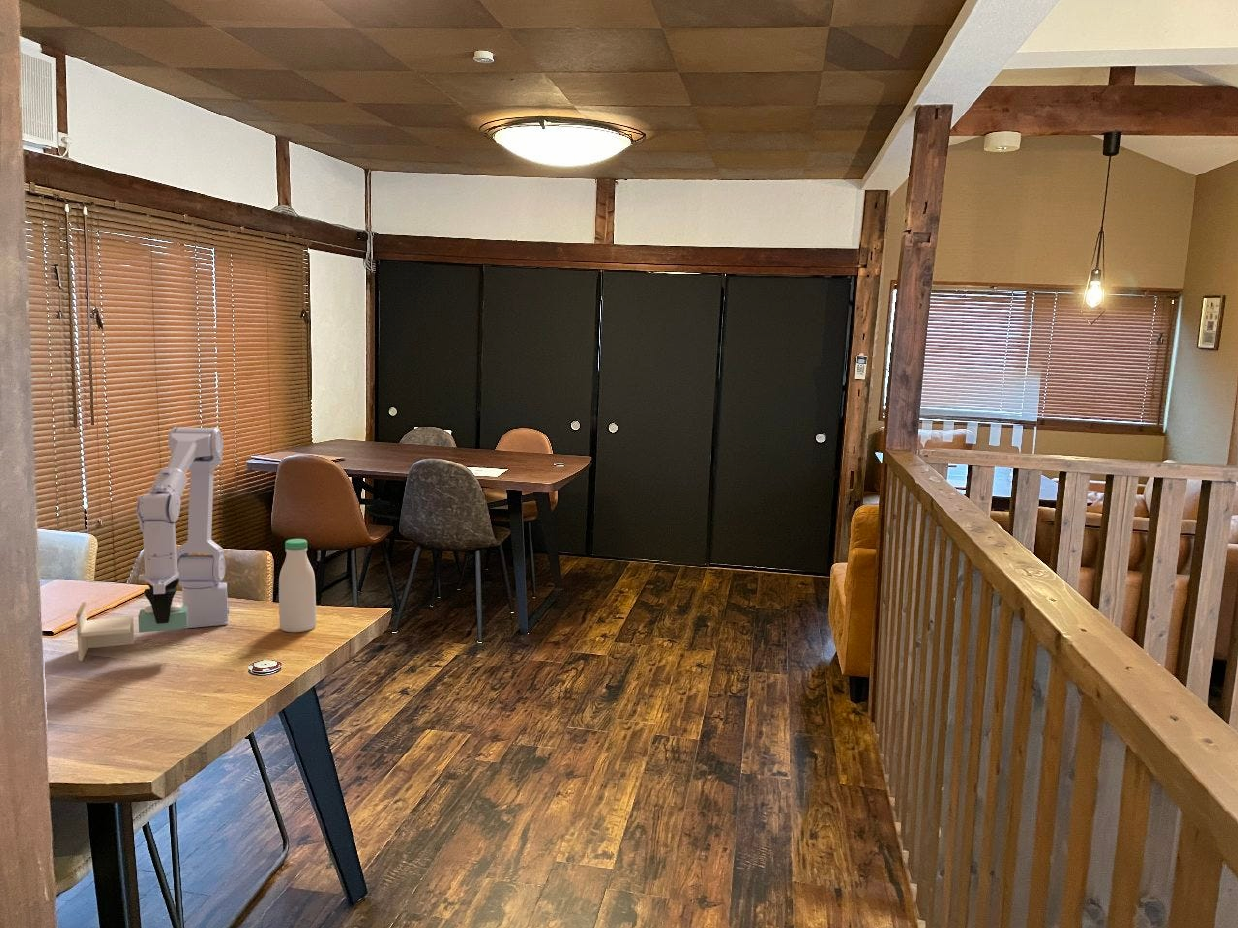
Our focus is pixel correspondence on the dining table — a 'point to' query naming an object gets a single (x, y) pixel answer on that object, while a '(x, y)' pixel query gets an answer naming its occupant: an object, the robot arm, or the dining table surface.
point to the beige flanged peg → (102, 632)
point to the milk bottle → (297, 589)
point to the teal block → (175, 622)
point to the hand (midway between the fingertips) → (163, 618)
